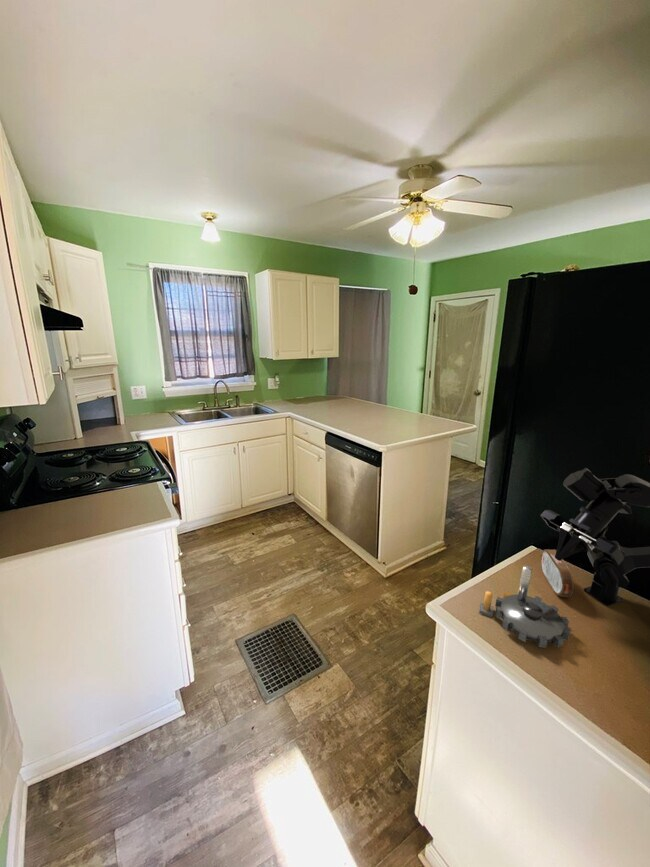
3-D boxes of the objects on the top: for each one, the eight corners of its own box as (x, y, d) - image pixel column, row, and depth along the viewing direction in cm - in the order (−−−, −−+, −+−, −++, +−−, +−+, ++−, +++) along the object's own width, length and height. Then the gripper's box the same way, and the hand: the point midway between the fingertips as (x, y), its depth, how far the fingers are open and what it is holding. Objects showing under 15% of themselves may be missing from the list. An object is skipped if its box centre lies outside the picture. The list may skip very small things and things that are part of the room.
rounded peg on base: (492, 609, 90) (496, 591, 88) (492, 617, 87) (495, 599, 86) (479, 605, 91) (483, 587, 90) (479, 612, 89) (482, 595, 87)
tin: (571, 604, 92) (578, 576, 90) (557, 602, 93) (564, 574, 91) (548, 568, 107) (553, 544, 104) (536, 567, 107) (542, 542, 105)
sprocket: (527, 592, 94) (535, 557, 91) (585, 638, 80) (596, 598, 77) (480, 604, 89) (487, 568, 87) (532, 655, 75) (542, 614, 73)
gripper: (648, 550, 85) (605, 598, 85) (574, 514, 102) (537, 554, 102) (635, 526, 81) (589, 576, 80) (559, 492, 98) (521, 533, 97)
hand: (556, 559), depth 90 cm, fingers closed
